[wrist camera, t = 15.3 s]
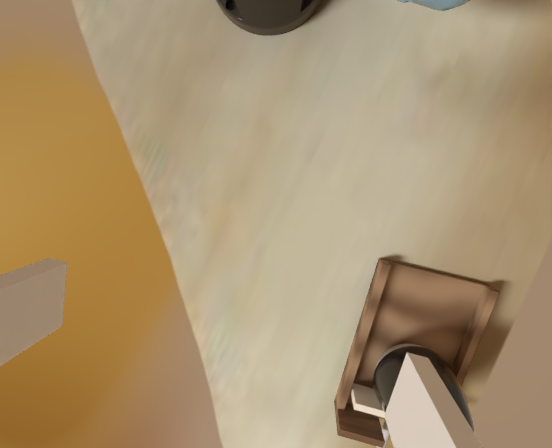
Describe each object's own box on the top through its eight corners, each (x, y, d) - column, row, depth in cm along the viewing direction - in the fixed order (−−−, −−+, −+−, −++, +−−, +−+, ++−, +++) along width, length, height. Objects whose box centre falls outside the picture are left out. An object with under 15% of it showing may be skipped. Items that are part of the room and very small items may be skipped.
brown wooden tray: (378, 258, 42) (390, 273, 36) (488, 285, 41) (517, 305, 35) (334, 401, 47) (337, 435, 41) (430, 428, 46) (448, 466, 40)
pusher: (351, 382, 45) (355, 403, 41) (435, 405, 44) (447, 428, 40) (337, 426, 47) (340, 450, 43) (418, 449, 46) (428, 475, 42)
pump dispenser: (416, 318, 43) (476, 393, 28) (454, 377, 43) (533, 481, 28) (353, 352, 44) (377, 441, 29) (390, 408, 45) (433, 523, 30)
